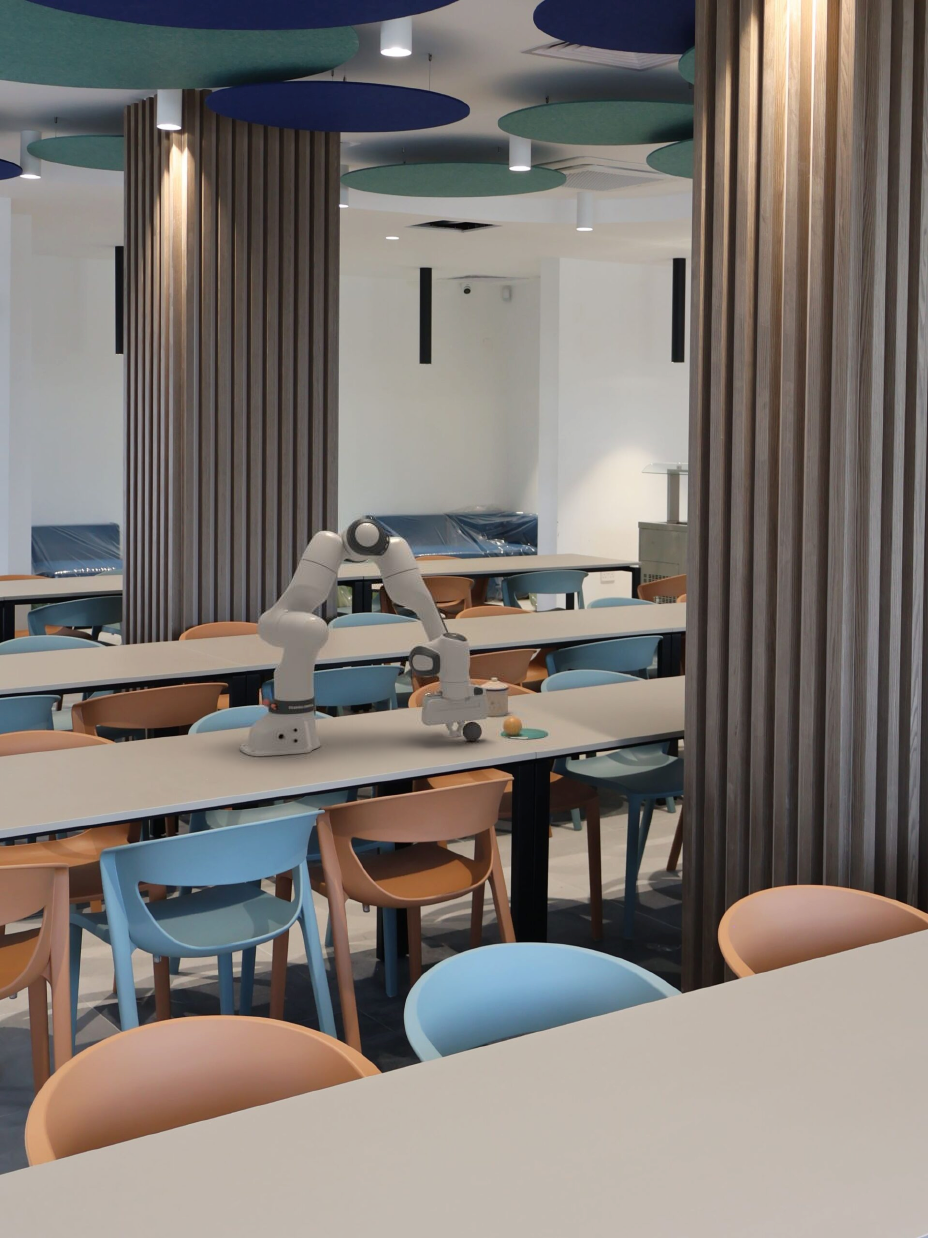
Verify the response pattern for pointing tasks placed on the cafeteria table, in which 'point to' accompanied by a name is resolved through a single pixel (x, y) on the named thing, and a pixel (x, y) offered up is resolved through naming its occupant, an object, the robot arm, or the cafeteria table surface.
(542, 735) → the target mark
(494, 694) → the teacup with lid
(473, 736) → the dark grey ball
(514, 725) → the object ball
